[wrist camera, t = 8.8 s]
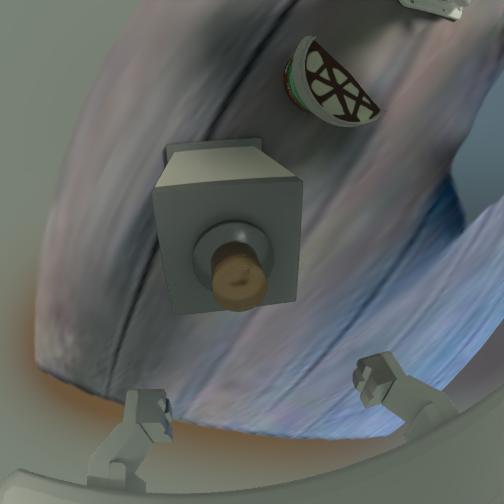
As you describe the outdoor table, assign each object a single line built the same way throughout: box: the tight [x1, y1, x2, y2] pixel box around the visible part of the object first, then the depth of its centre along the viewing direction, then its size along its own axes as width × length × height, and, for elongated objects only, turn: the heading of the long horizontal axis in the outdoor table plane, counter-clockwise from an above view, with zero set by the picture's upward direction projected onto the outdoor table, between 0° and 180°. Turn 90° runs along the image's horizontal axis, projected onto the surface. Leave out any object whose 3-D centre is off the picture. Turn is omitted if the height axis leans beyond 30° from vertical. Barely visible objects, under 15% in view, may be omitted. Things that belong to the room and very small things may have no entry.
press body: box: [151, 138, 303, 315], centre depth 29 cm, size 12×12×20 cm
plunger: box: [193, 219, 275, 312], centre depth 25 cm, size 7×7×19 cm
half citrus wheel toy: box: [284, 35, 386, 127], centre depth 29 cm, size 12×6×10 cm, turn 50°
